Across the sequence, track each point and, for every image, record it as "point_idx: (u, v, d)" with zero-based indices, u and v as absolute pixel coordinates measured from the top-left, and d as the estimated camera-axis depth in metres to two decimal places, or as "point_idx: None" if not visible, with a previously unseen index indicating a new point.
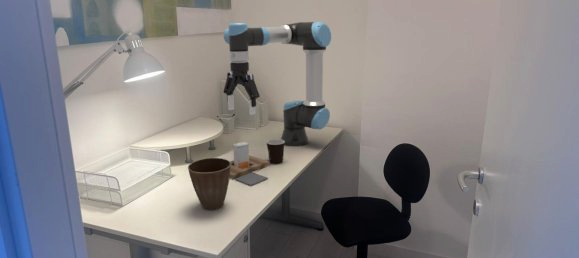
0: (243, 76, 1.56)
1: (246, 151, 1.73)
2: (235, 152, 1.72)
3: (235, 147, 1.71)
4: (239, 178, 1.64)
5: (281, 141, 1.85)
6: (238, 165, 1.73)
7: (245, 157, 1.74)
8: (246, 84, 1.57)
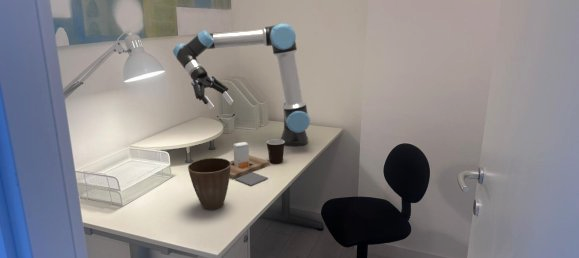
0: None
1: (246, 151, 1.73)
2: (235, 152, 1.72)
3: (235, 147, 1.71)
4: (239, 178, 1.64)
5: (281, 141, 1.85)
6: (238, 165, 1.73)
7: (245, 157, 1.74)
8: (200, 87, 1.77)
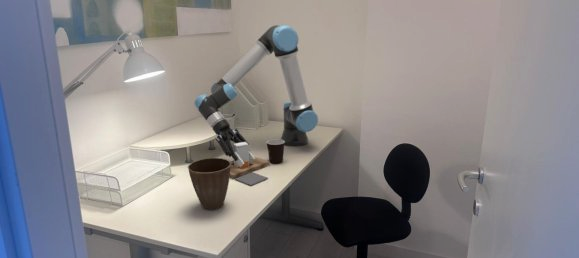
0: None
1: (246, 151, 1.73)
2: None
3: (235, 147, 1.71)
4: (239, 178, 1.64)
5: (281, 141, 1.85)
6: (238, 165, 1.73)
7: (245, 157, 1.74)
8: (225, 142, 1.74)
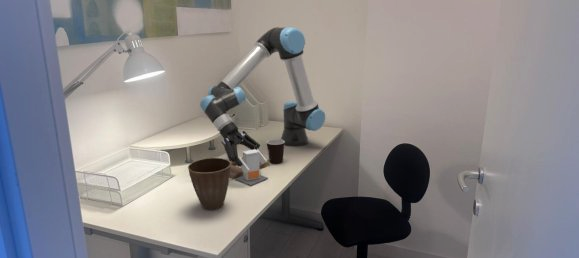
0: None
1: (256, 160, 1.61)
2: (244, 161, 1.60)
3: (245, 155, 1.59)
4: (239, 178, 1.64)
5: (281, 141, 1.85)
6: (248, 174, 1.60)
7: (255, 166, 1.61)
8: (232, 146, 1.60)
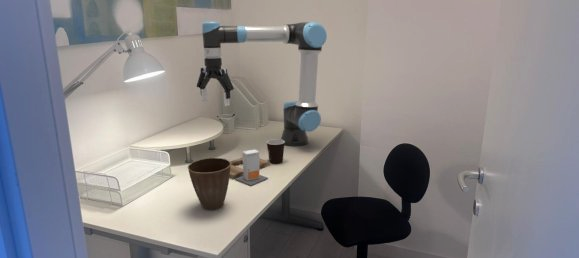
0: (217, 70, 1.70)
1: (256, 160, 1.61)
2: (244, 161, 1.60)
3: (245, 155, 1.59)
4: (239, 178, 1.64)
5: (281, 141, 1.85)
6: (248, 174, 1.60)
7: (255, 166, 1.61)
8: (220, 78, 1.71)
